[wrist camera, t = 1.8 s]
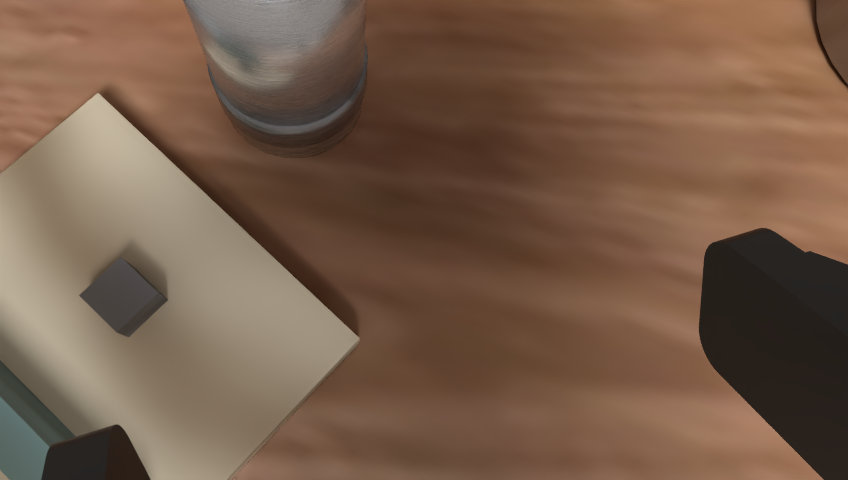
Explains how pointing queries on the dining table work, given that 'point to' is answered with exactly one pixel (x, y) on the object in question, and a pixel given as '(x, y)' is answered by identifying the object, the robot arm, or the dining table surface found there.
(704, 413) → the dining table surface
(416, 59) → the dining table surface
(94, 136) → the beige board with frame
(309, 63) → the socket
